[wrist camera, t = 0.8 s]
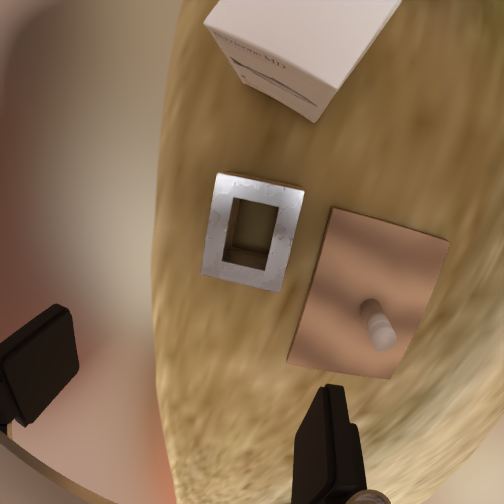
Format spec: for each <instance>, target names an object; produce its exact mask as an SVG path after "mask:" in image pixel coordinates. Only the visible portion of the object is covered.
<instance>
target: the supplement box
mask: <svg viewBox="0 0 504 504" xmlns="http://www.w3.org/2000/svg"><path fill="white" fill-rule="evenodd" d="M401 2H402V0H220V1H219V2H218V4H217V5H216V6H215V7H214V8H213V10H212V11H211V12H210V14H209V15H208V16H207V18H206V19H205V21H204V25H205V26H206V28H207V29H208V31H209V32H210V33H211V35H212V36H213V38H214V39H215V41H216V42H217V44H218V45H219V47H220V48H221V50H222V51H223V53H224V54H225V56H226V57H227V59H228V61H229V62H230V64H231V65H232V67H233V68H234V70H235V72H236V73H237V75H238V77H239V78H240V80H241V81H242V83H244V84H246V85H248V86H250V87H253V88H255V89H257V90H259V91H261V92H263V93H265V94H267V95H269V96H270V97H272V98H274V99H276V100H278V101H279V102H281V103H283V104H284V105H286V106H288V107H289V108H291V109H293V110H294V111H296V112H298V113H299V114H301V115H302V116H304V117H305V118H307V119H308V120H310V121H311V122H312V123H316V122H317V120H318V119H319V117H320V116H321V114H322V113H323V112H324V110H325V109H326V107H327V106H328V104H329V103H330V101H331V100H332V98H333V97H334V95H335V94H336V93H337V91H338V90H339V89H340V87H341V86H342V84H343V83H344V82H345V80H346V79H347V78H348V76H349V75H350V74H351V72H352V71H353V70H354V68H355V67H356V65H357V64H358V63H359V61H360V60H361V59H362V57H363V56H364V54H365V53H366V52H367V50H368V49H369V47H370V46H371V45H372V43H373V42H374V40H375V39H376V38H377V36H378V35H379V33H380V32H381V30H382V29H383V28H384V26H385V25H386V23H387V22H388V20H389V19H390V18H391V16H392V15H393V13H394V12H395V11H396V9H397V8H398V6H399V5H400V4H401Z"/></svg>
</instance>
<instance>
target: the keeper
mask: <svg viewBox="0 0 504 504" xmlns="http://www.w3.org/2000/svg"><path fill="white" fill-rule="evenodd" d="M450 243H451V242H449V241H447V240H445V239H442V238H439V237H436V236H433V235H430V234H427V233H424V232H421V231H417V230H414V229H411V228H408V227H404V226H401V225H398V224H394V223H391V222H387V221H384V220H380V219H377V218H373V217H370V216H366V215H363V214H359V213H355V212H351V211H348V210H344V209H340V208H336V207H331V211H330V215H329V219H328V222H327V226H326V230H325V234H324V238H323V241H322V245H321V249H320V252H319V256H318V259H317V263H316V266H315V270H314V273H313V277H312V280H311V284H310V287H309V290H308V294H307V297H306V300H305V303H304V307H303V310H302V313H301V316H300V319H299V323H298V326H297V329H296V332H295V335H294V338H293V341H292V344H291V347H290V350H289V353H288V356H287V363H286V364H291V365H296V366H302V367H307V368H313V369H318V370H324V371H330V372H337V373H343V374H350V375H357V376H365V377H373V378H382V379H391V377H392V375H393V373H394V372H395V370H396V368H397V366H398V364H399V363H400V361H401V359H402V357H403V355H404V353H405V351H406V349H407V347H408V345H409V343H410V341H411V339H412V337H413V335H414V333H415V331H416V329H417V327H418V325H419V323H420V320H421V318H422V316H423V314H424V312H425V309H426V307H427V305H428V302H429V300H430V297H431V295H432V293H433V290H434V288H435V285H436V283H437V280H438V277H439V275H440V272H441V269H442V266H443V264H444V261H445V258H446V255H447V252H448V249H449V246H450Z"/></svg>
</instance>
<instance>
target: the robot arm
mask: <svg viewBox="0 0 504 504" xmlns="http://www.w3.org/2000/svg"><path fill="white" fill-rule="evenodd" d="M78 370H79V361H78V355H77V350H76V343H75V336H74V329H73V321H72V315H71V314H70V311H69V309H67V308H66V307H63V306H61V305H59V304H54V305H52V306H51V307H49V308H48V309H46V310H45V311H43V312H42V313H41V314H39V315H38V316H36V317H35V318H34V319H32V320H31V321H30V322H28V323H27V324H25V325H24V326H23V327H22V328H20V329H19V330H17V331H16V332H15V333H13V334H12V335H11V336H9V337H8V338H7V339H5V340H4V341H3V342H1V343H0V504H117V503H114V502H112V501H110V500H108V499H106V498H104V497H102V496H100V495H98V494H96V493H94V492H92V491H90V490H88V489H86V488H84V487H82V486H80V485H79V484H77V483H75V482H73V481H71V480H70V479H68V478H66V477H65V476H63V475H62V474H60V473H58V472H56V471H55V470H53V469H52V468H50V467H48V466H47V465H46V464H44V463H43V462H41V461H40V460H38V459H37V458H35V457H34V456H32V455H31V454H30V453H28V452H27V451H26V450H24V449H23V448H22V447H20V446H19V445H18V444H16V443H15V442H14V441H13V440H12V420H13V419H14V418H15V420H16V421H17V422H18V423H19V424H21V425H22V426H23V427H26V426H27V425H28V424H29V423H30V424H31V423H33V422H34V421H35V420H36V419H37V418H38V416H39V415H40V414H41V413H42V412H43V411H44V410H45V408H46V407H47V406H48V405H49V404H50V403H51V402H52V400H53V399H54V398H55V397H56V396H57V395H58V394H59V392H60V391H61V390H62V389H63V388H64V387H65V386H66V385H67V384H68V382H69V381H70V380H71V379H72V378H73V377H74V376H75V375H76V374H77V372H78ZM291 504H391V502H390V501H389V499H388V498H387V497H386V496H385V495H384V494H383V493H381V492H378V491H376V490H367V484H366V477H365V469H364V463H363V456H362V450H361V443H360V437H359V432H358V427H357V425H356V424H353V423H350V421H349V415H348V409H347V403H346V397H345V391H344V387H343V386H340V385H333V384H326V385H325V387H320V388H319V389H318V391H317V393H316V395H315V397H314V400H313V402H312V404H311V406H310V408H309V410H308V412H307V414H306V416H305V417H304V419H303V421H302V423H301V425H300V427H299V429H298V431H297V433H296V436H295V441H294V464H293V482H292V498H291Z"/></svg>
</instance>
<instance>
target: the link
mask: <svg viewBox="0 0 504 504" xmlns="http://www.w3.org/2000/svg"><path fill="white" fill-rule="evenodd" d="M303 196H304V189H303V187H300V186H296V185H292V184H287V183H283V182H278V181H274V180H269V179H264V178H260V177H255V176H250V175H245V174H240V173H235V172H230V171H227V172H220V173H217V176H216V181H215V187H214V192H213V198H212V204H211V210H210V216H209V222H208V228H207V234H206V240H205V247H204V253H203V260H202V267H201V274H202V275H206V276H210V277H214V278H219V279H223V280H227V281H231V282H235V283H239V284H243V285H247V286H252V287H256V288H260V289H265V290H269V291H273V292H278V293H280V289H281V286H282V282H283V278H284V274H285V270H286V266H287V262H288V258H289V254H290V250H291V246H292V242H293V238H294V234H295V230H296V226H297V222H298V218H299V213H300V209H301V205H302V201H303ZM240 199H245V200H249V201H254V202H258V203H263V204H268V205H272V206H276V207H279V211H278V216H277V220H276V225H275V229H274V233H273V238H272V242H271V247H270V251H269V255H266V254H262V253H258V252H253V251H249V250H245V249H240V248H236V247H232V241H233V236H234V231H235V225H236V220H237V215H238V210H239V205H240Z"/></svg>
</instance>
